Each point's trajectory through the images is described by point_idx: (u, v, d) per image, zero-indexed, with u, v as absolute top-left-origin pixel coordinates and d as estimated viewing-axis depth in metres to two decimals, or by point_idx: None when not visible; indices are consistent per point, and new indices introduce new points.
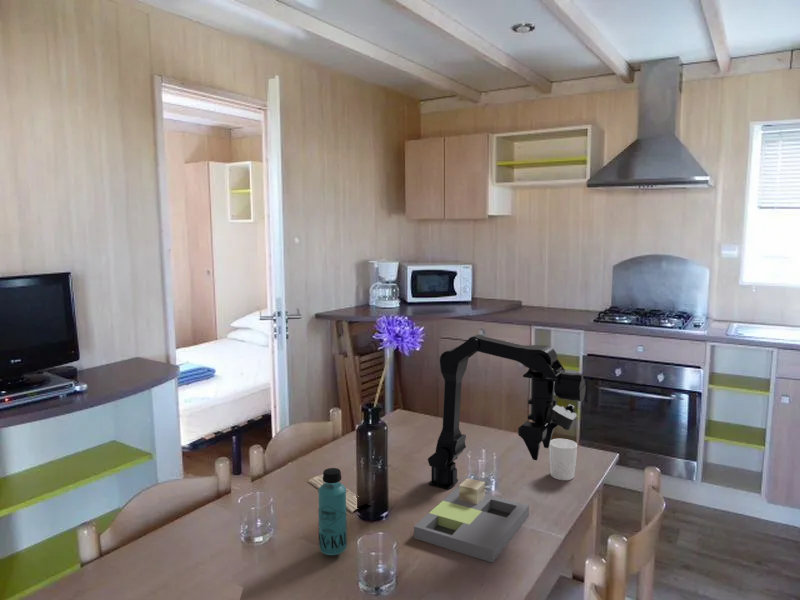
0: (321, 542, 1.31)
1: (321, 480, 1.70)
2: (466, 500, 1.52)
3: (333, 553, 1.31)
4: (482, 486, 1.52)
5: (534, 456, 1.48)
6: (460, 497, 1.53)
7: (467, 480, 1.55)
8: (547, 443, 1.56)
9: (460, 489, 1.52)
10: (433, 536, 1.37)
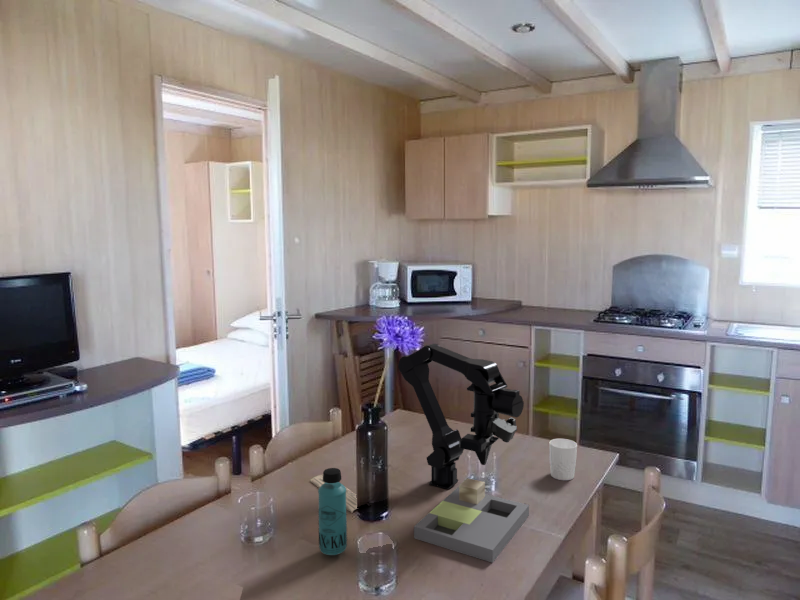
0: (321, 542, 1.31)
1: (322, 480, 1.70)
2: (466, 500, 1.52)
3: (333, 553, 1.31)
4: (482, 486, 1.52)
5: (482, 461, 1.58)
6: (460, 497, 1.53)
7: (467, 480, 1.55)
8: None
9: (460, 489, 1.52)
10: (433, 536, 1.37)
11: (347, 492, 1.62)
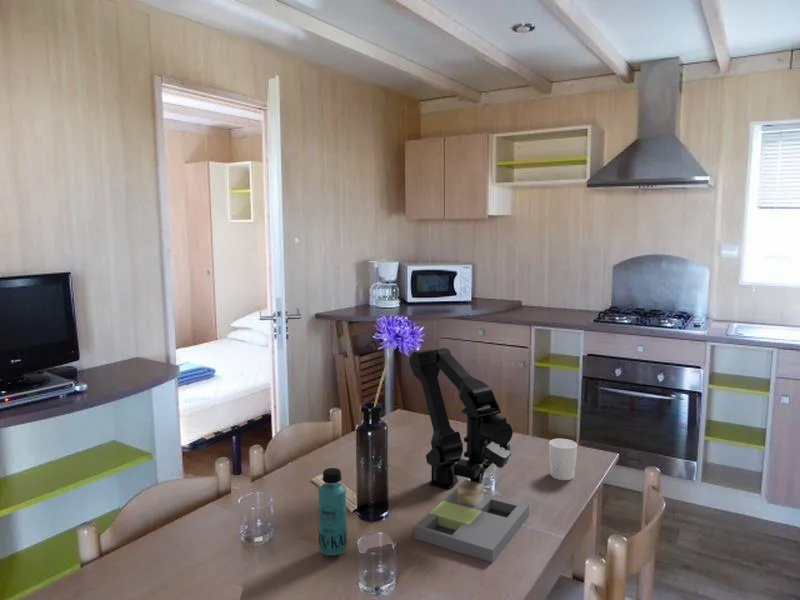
0: (321, 542, 1.31)
1: None
2: (464, 502, 1.51)
3: (333, 553, 1.31)
4: (480, 487, 1.52)
5: None
6: (458, 499, 1.52)
7: (465, 482, 1.54)
8: None
9: (458, 491, 1.51)
10: (433, 536, 1.37)
11: (348, 492, 1.62)
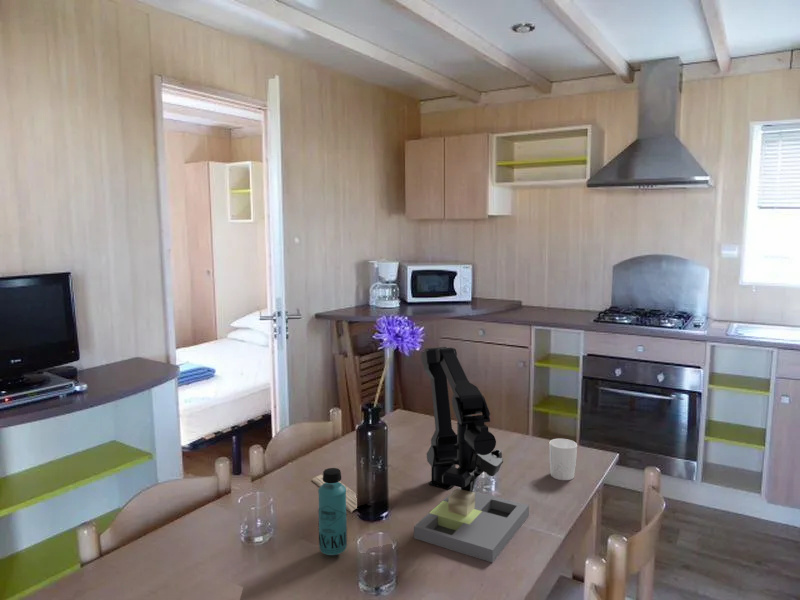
0: (321, 542, 1.31)
1: None
2: (455, 511, 1.46)
3: (333, 553, 1.31)
4: (472, 497, 1.47)
5: None
6: (449, 508, 1.47)
7: (456, 490, 1.49)
8: None
9: (449, 500, 1.46)
10: (433, 536, 1.37)
11: (348, 492, 1.62)
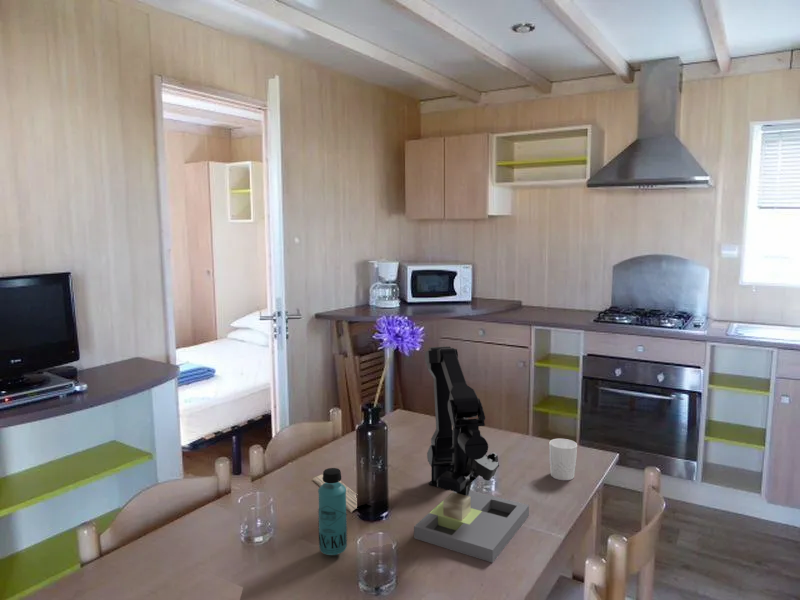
0: (321, 542, 1.31)
1: None
2: (450, 516, 1.44)
3: (333, 553, 1.31)
4: (467, 501, 1.45)
5: None
6: (444, 512, 1.45)
7: (452, 494, 1.47)
8: None
9: (444, 504, 1.44)
10: (433, 536, 1.37)
11: (348, 492, 1.62)
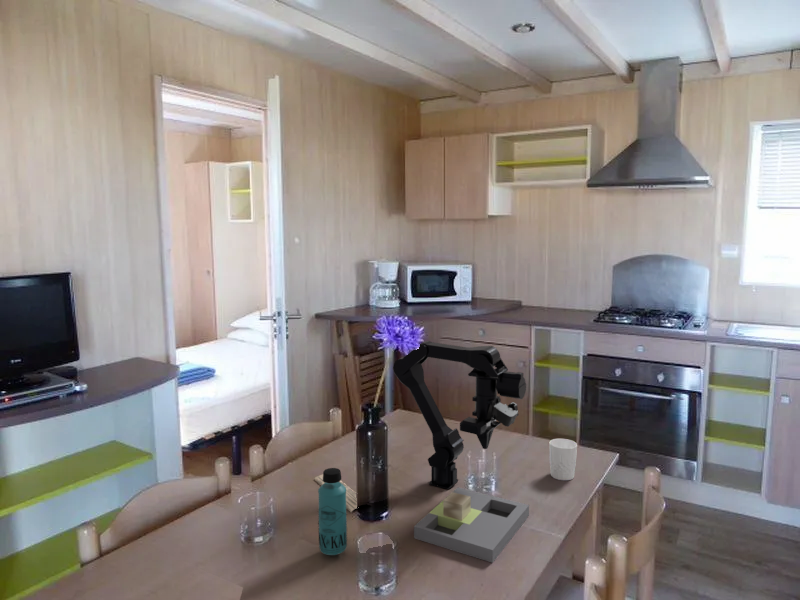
0: (321, 542, 1.31)
1: None
2: (450, 516, 1.44)
3: (333, 553, 1.31)
4: (467, 501, 1.45)
5: (484, 445, 1.61)
6: (444, 512, 1.45)
7: (452, 494, 1.47)
8: None
9: (444, 504, 1.44)
10: (433, 536, 1.37)
11: (349, 492, 1.62)
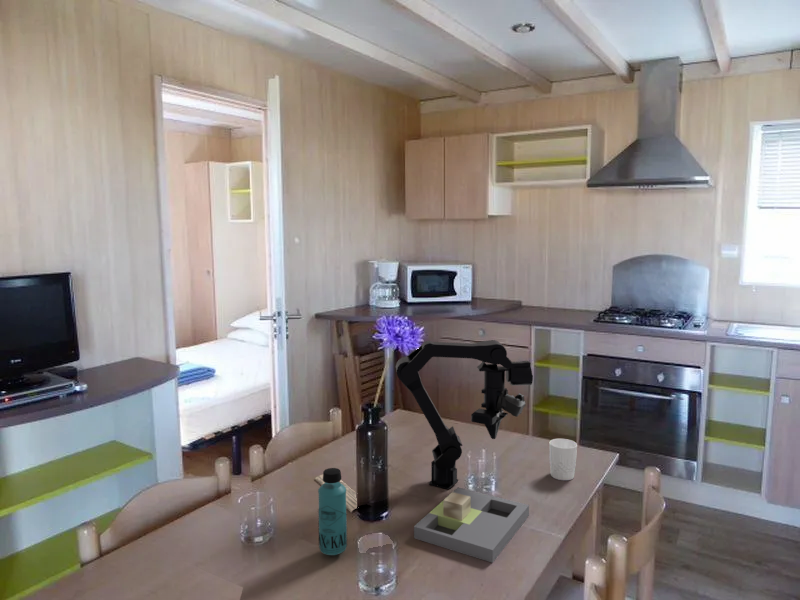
0: (321, 542, 1.31)
1: None
2: (450, 516, 1.44)
3: (333, 553, 1.31)
4: (467, 501, 1.45)
5: (493, 435, 1.68)
6: (444, 512, 1.45)
7: (452, 494, 1.47)
8: None
9: (444, 504, 1.44)
10: (433, 536, 1.37)
11: (349, 491, 1.62)
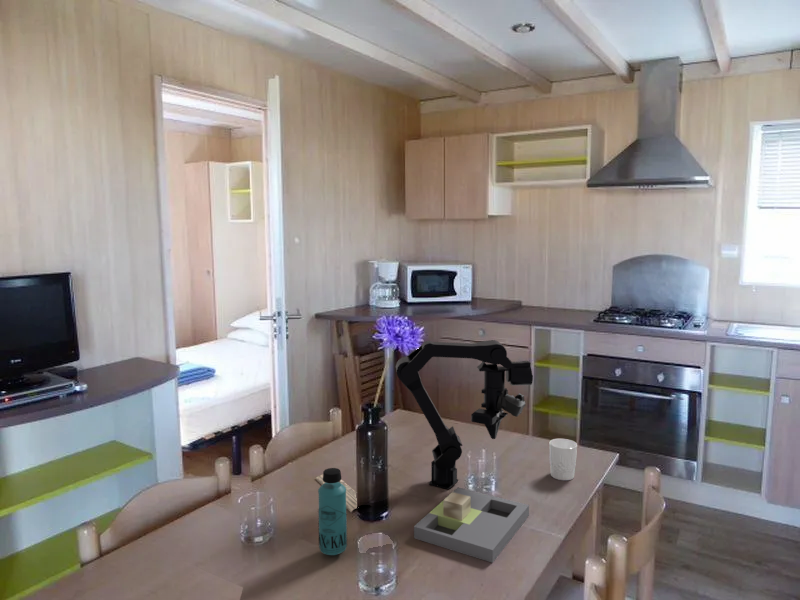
0: (321, 542, 1.31)
1: None
2: (450, 516, 1.44)
3: (333, 553, 1.31)
4: (467, 501, 1.45)
5: (493, 435, 1.68)
6: (444, 512, 1.45)
7: (452, 494, 1.47)
8: None
9: (444, 504, 1.44)
10: (433, 536, 1.37)
11: (349, 491, 1.62)
